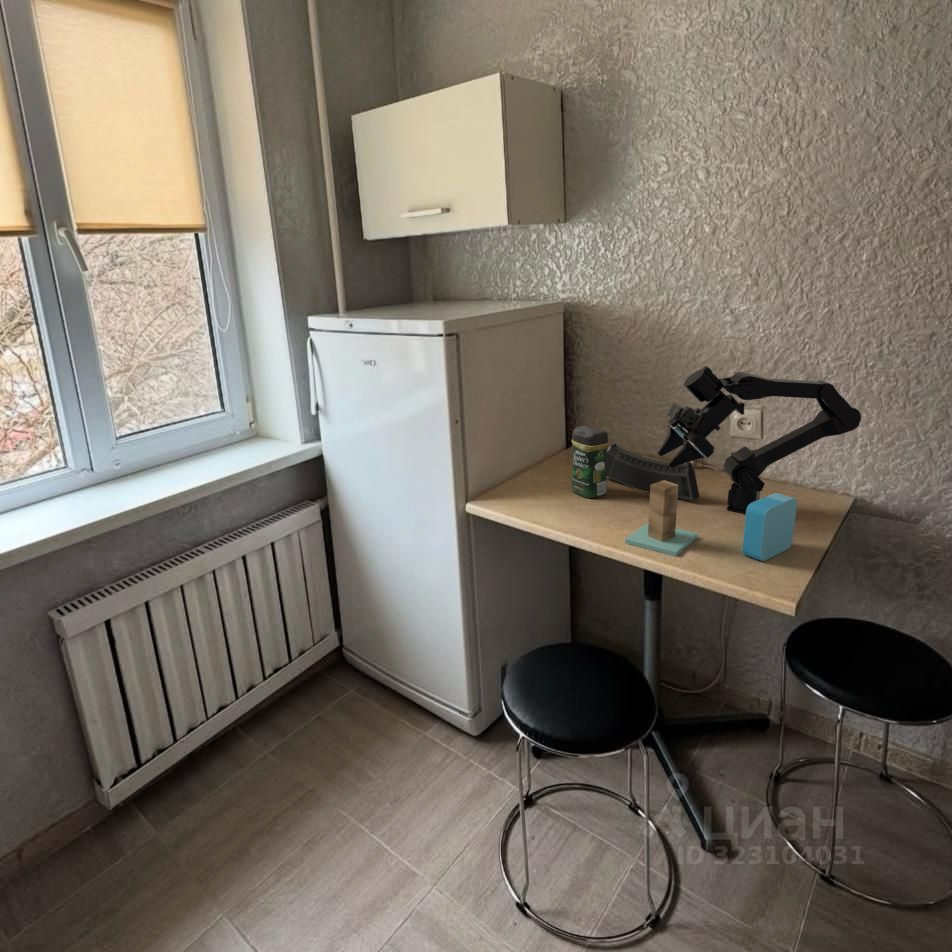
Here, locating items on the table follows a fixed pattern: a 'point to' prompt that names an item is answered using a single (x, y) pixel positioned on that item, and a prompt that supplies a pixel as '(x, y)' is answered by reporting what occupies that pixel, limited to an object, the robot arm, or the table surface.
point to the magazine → (649, 472)
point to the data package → (769, 526)
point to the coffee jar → (589, 461)
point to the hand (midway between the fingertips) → (664, 460)
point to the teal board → (667, 546)
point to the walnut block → (662, 510)
